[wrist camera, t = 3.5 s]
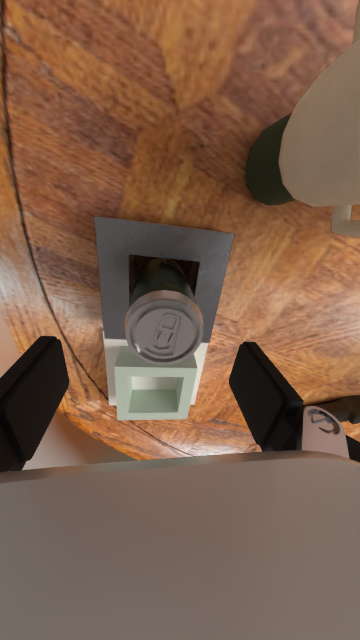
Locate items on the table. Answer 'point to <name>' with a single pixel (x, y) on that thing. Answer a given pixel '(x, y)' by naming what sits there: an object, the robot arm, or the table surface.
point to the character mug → (316, 146)
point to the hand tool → (344, 409)
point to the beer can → (163, 315)
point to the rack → (151, 383)
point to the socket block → (165, 242)
